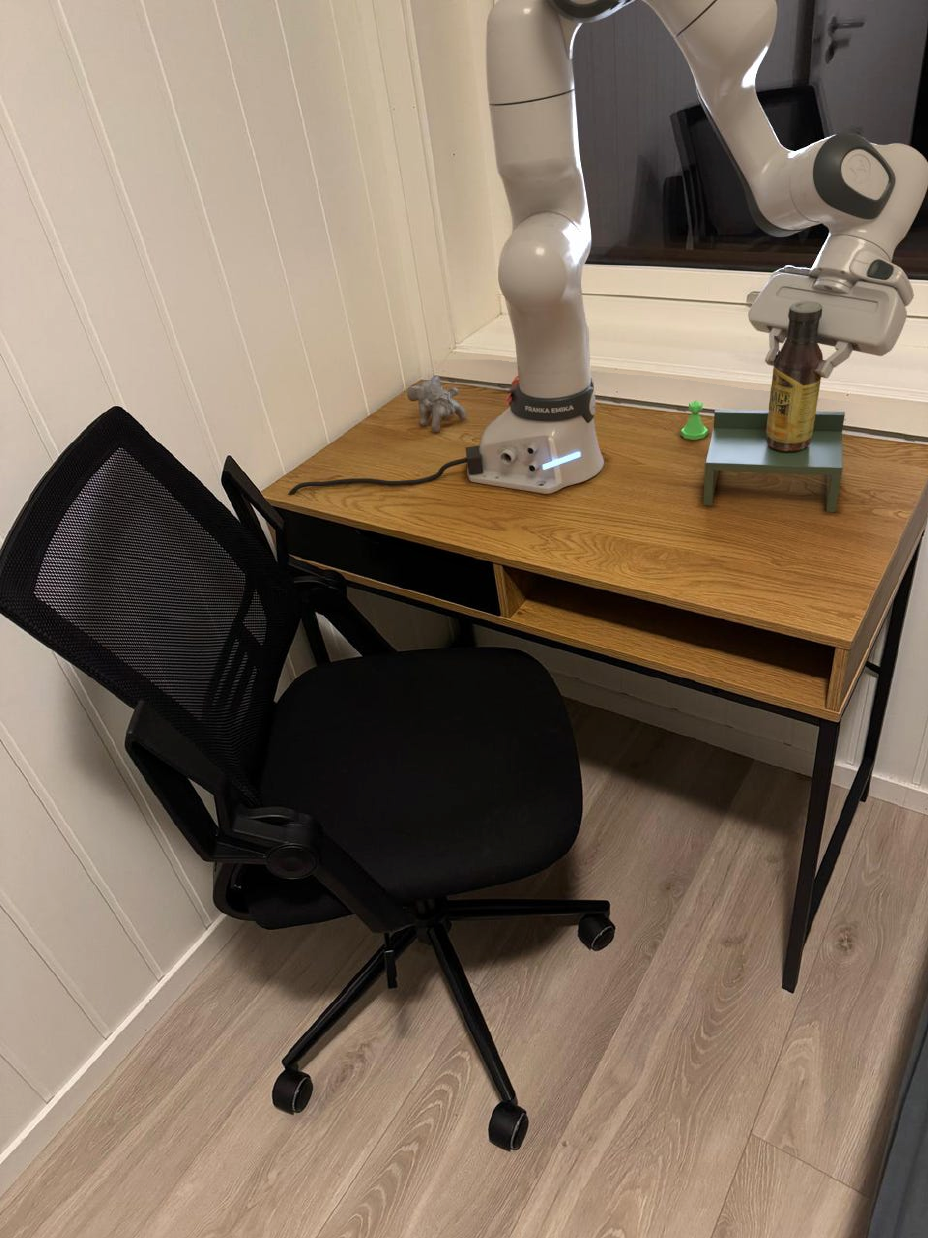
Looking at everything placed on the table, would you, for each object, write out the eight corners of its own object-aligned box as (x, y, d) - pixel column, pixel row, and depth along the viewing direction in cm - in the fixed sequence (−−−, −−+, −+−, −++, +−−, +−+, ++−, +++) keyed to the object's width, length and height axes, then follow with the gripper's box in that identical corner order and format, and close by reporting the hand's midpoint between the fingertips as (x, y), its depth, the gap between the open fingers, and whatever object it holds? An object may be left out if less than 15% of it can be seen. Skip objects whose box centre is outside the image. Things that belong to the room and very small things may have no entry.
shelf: (703, 505, 125) (706, 445, 120) (711, 466, 134) (715, 409, 128) (835, 512, 120) (845, 450, 114) (835, 471, 128) (844, 411, 123)
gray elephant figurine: (446, 437, 155) (439, 397, 150) (394, 427, 161) (386, 389, 156) (473, 416, 160) (468, 376, 156) (422, 407, 167) (416, 370, 162)
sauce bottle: (758, 438, 125) (770, 300, 113) (801, 431, 125) (817, 293, 113) (775, 458, 120) (789, 316, 108) (819, 451, 119) (838, 308, 107)
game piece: (694, 426, 146) (695, 392, 142) (713, 433, 143) (714, 400, 139) (675, 434, 144) (676, 401, 141) (694, 442, 141) (695, 408, 138)
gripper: (769, 251, 118) (721, 344, 119) (915, 271, 104) (859, 375, 106) (785, 275, 123) (738, 364, 124) (926, 297, 109) (872, 396, 111)
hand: (795, 369), depth 115 cm, fingers closed on sauce bottle, 6 cm apart
